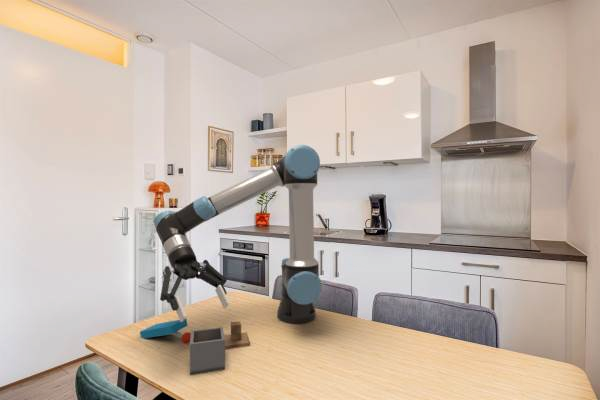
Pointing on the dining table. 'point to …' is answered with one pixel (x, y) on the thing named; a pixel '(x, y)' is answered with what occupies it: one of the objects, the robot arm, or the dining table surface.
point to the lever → (167, 330)
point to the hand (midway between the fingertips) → (206, 312)
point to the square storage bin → (207, 350)
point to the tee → (236, 337)
